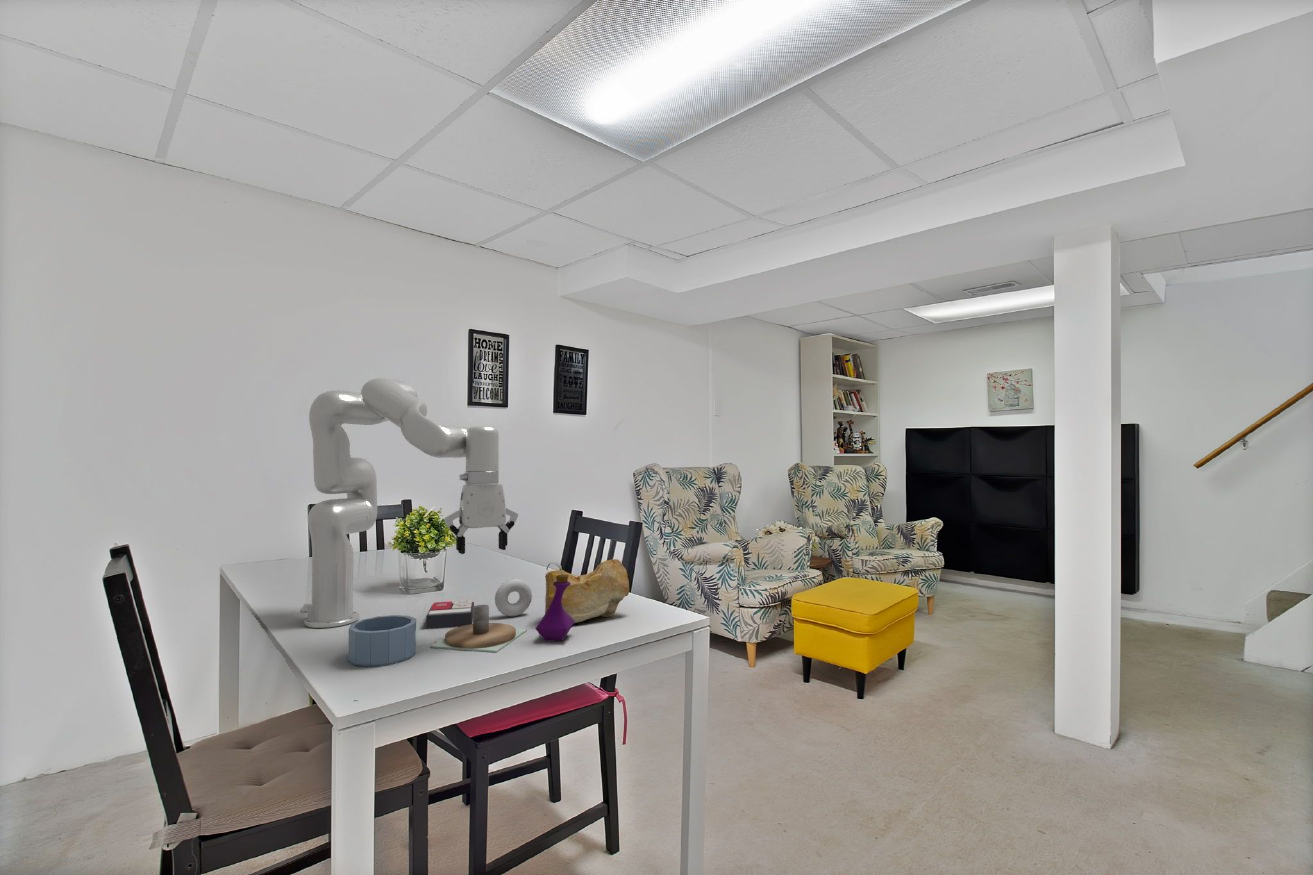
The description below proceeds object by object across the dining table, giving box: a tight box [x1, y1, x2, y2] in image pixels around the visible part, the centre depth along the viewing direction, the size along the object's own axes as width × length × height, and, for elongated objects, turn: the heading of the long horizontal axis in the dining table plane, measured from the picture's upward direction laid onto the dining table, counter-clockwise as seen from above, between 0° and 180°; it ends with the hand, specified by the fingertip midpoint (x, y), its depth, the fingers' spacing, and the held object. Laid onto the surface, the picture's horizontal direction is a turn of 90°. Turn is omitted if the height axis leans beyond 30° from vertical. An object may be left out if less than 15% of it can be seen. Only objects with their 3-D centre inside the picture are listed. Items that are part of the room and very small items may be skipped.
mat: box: [430, 628, 528, 653], centre depth 142 cm, size 16×16×1 cm
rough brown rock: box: [544, 558, 630, 624], centre depth 162 cm, size 23×17×15 cm
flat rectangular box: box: [425, 599, 475, 630], centre depth 159 cm, size 11×4×15 cm
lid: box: [444, 604, 517, 648], centre depth 142 cm, size 16×16×7 cm
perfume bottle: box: [535, 561, 575, 642], centre depth 143 cm, size 8×8×18 cm
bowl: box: [347, 614, 417, 668], centre depth 130 cm, size 13×13×7 cm
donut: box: [494, 578, 533, 617], centre depth 162 cm, size 10×4×10 cm, turn 119°
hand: (482, 551), depth 143 cm, fingers open, 9 cm apart
